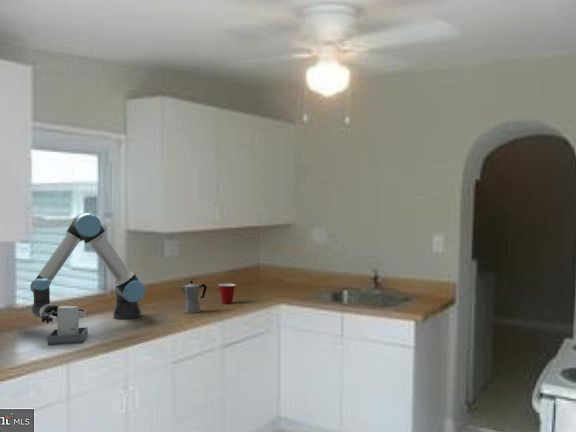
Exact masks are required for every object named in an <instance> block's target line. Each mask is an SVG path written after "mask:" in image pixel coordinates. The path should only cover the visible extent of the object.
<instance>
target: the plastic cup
mask: <svg viewBox="0 0 576 432" xmlns="http://www.w3.org/2000/svg"><path fill="white" fill-rule="evenodd" d="M236 286H237V285H236V284H235V283H218V287H219V293H220V297H221V302H222V304H223V305H231V304H232V303H233V300H234V299H233V298H234V294H235V289H236Z"/></svg>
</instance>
